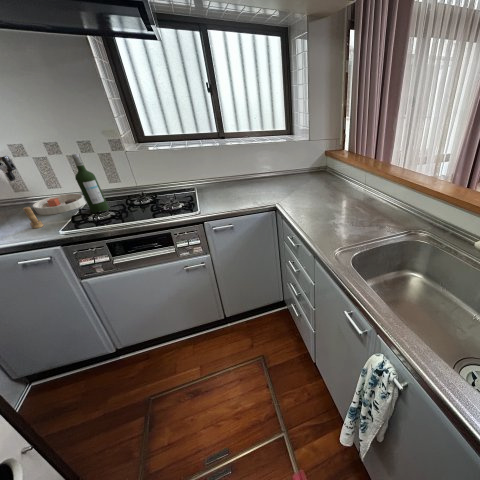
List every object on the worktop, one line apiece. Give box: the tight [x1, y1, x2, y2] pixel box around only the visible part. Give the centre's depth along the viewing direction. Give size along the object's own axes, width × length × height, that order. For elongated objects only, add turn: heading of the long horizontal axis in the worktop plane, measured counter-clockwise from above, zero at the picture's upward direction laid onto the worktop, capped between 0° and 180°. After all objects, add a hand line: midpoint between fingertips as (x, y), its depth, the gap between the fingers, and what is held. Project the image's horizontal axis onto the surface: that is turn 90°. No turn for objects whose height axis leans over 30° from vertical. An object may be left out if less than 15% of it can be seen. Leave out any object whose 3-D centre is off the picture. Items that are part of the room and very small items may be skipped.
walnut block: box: [65, 199, 76, 204], centre depth 148 cm, size 4×4×4 cm
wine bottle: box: [71, 153, 110, 214], centre depth 138 cm, size 8×8×30 cm
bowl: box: [32, 193, 87, 216], centre depth 148 cm, size 21×21×4 cm
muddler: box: [22, 206, 44, 230], centre depth 126 cm, size 4×4×10 cm
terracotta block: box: [47, 198, 61, 207], centre depth 149 cm, size 4×4×4 cm
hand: (0, 181), depth 117 cm, fingers open, 8 cm apart
